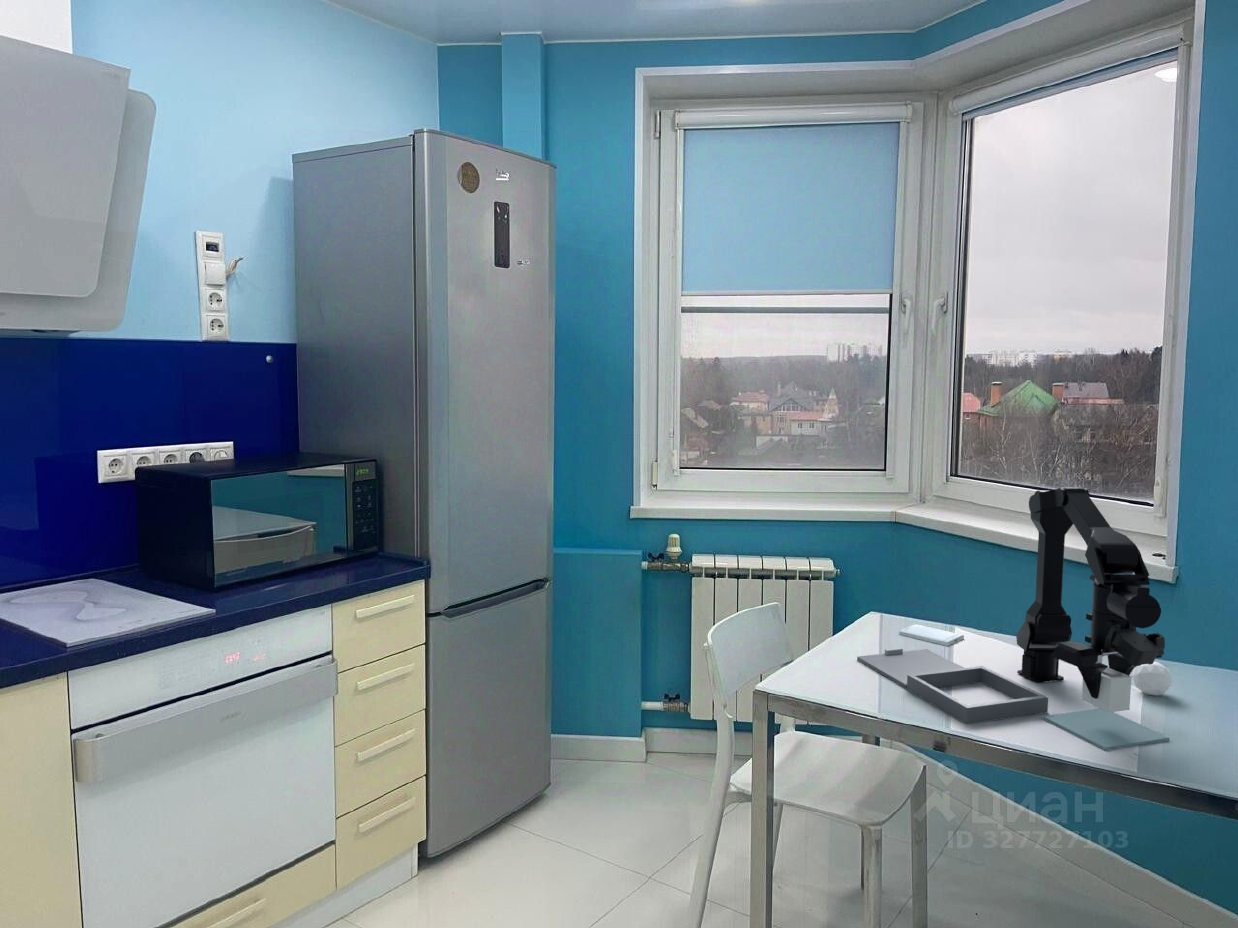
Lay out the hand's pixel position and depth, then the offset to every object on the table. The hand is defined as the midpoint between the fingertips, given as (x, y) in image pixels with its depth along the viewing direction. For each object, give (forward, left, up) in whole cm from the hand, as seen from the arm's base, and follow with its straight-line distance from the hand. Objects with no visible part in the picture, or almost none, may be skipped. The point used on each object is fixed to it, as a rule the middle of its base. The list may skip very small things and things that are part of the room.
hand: (1105, 696), depth 152 cm
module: (0, 0, -2) cm, 2 cm away
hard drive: (-5, -55, -7) cm, 56 cm away
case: (+13, -27, -6) cm, 31 cm away
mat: (0, 0, -6) cm, 6 cm away
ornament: (-23, -11, -6) cm, 26 cm away
